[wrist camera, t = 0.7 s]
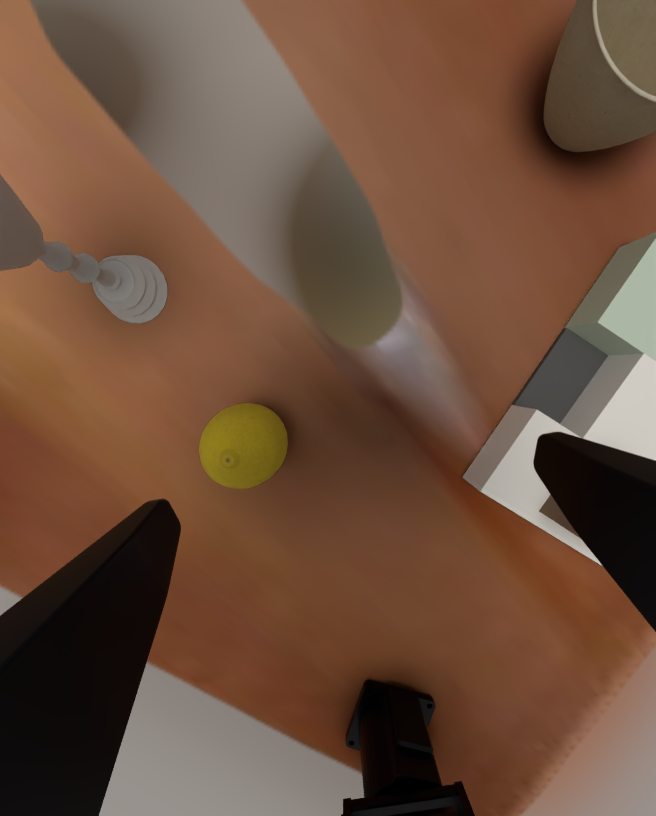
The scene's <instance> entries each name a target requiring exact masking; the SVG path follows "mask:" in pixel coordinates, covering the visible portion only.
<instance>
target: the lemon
mask: <svg viewBox="0 0 656 816" xmlns="http://www.w3.org/2000/svg"><path fill="white" fill-rule="evenodd" d="M287 447H288V438H287V432H286V429H285V426H284V424H283V422H282V421H281V419H280V418H279V417H278V415H276V414H275V413H274V412H273V411H272V410H270V409H268V408H266V407H264V406H262V405H259V404H254V403H239V404H236V405H232V406H229V407H227V408H225V409H224V410H222V411H220V412H219V413H217V414H216V415H215V416H214V417H213V418H212V419H211V420H210V421H209V422H208V424H207V426H206V427H205V429H204V431H203V433H202V435H201V439H200V443H199V457H200V460H201V464H202V466H203V468H204V469H205V471H206V473H207V474H208V475H209V476H210V477H211V478H212V479H213V480H214V481H216V482H217V483H219V484H220V485H223V486H226V487H229V488H236V489H244V488H251V487H254V486H256V485H259V484H261V483H263V482H265V481H266V480H267V479H269V478H270V477H271V476H273V475H274V474H275V473H276V471H277V470H278V469H279V468H280V466H281V465H282V463H283V461H284V458H285V456H286V453H287Z"/></svg>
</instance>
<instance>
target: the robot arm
mask: <svg viewBox="0 0 656 816" xmlns="http://www.w3.org/2000/svg"><path fill="white" fill-rule="evenodd" d="M533 465H534V469H535V471H536V473H537V475H538V476H539V478H540V479H541V481H542V482H543V484H544V485H545V487H546V488H547V490H548V491H549V493H550V494H551V496H552V498H553V499H554V501H555V502H556V504H557V505H558V507H559V508H560V510H561V511H562V513H563V514H564V516H565V517H566V519H567V520H568V522H569V523H570V525H571V526H572V527H573V529H574V530H575V532H576V533H577V534H578V535H579V537H580V538H581V539H582V541H583V542H584V543H585V544H586V546H587V547H588V548H589V549H590V551H591V552H592V553H593V554H594V556H595V557H596V558H597V559H598V561H599V562H600V563H601V564H602V566H603V567H604V568H605V569H606V571H607V572H608V573H609V574H610V576H611V577H612V578H613V579H614V580H615V582H616V583H617V584H618V585H619V587H620V588H621V589H622V590H623V592H624V593H625V594H626V595H627V597H628V598H629V599H630V600H631V602H632V603H633V604H634V605H635V607H636V608H637V609H638V610H639V612H640V613H641V614H642V615H643V617H644V618H645V619H646V620H647V622H648V623H649V624H650V625H651V627H652V628H653V629H654V630H655V632H656V460H652V459H649V458H646V457H642V456H639V455H636V454H632V453H629V452H626V451H623V450H619V449H616V448H613V447H609V446H606V445H603V444H599V443H596V442H593V441H590V440H586V439H583V438H580V437H576V436H573V435H570V434H566V433H563V432H551V433H545V434H542V435H540V436H539V437H538V440H537V444H536V450H535V455H534V460H533ZM180 532H181V525H180V522H179V520H178V518H177V516H176V514H175V512H174V510H173V509H172V507H171V505H170V503H169V502H168V501H167V500H166V499H158V500H152V501H148V502H146V503H145V504H143V505H142V506H141V507H139V508H138V509H137V510H136V511H134V512H133V513H132V514H130V515H129V516H128V517H127V518H125V519H124V520H123V521H121V522H120V523H119V524H118V525H116V526H115V527H114V528H112V529H111V530H110V531H109V532H107V533H106V534H105V535H103V536H102V537H101V538H100V539H98V540H97V541H96V542H94V543H93V544H92V545H91V546H89V547H88V548H87V549H85V550H84V551H83V552H82V553H80V554H79V555H78V556H76V557H75V558H74V559H73V560H71V561H70V562H69V563H67V564H66V565H65V566H64V567H62V568H61V569H60V570H58V571H57V572H56V573H55V574H53V575H52V576H51V577H49V578H48V579H47V580H46V581H44V582H43V583H42V584H40V585H39V586H38V587H37V588H35V589H34V590H33V591H31V592H30V593H29V594H28V595H26V596H25V597H24V598H22V599H21V600H20V601H19V602H17V603H16V604H15V605H14V606H12V607H11V608H10V609H8V610H7V611H6V612H5V613H3V614H2V615H1V616H0V816H99V813H100V810H101V806H102V803H103V800H104V797H105V793H106V790H107V787H108V784H109V781H110V778H111V774H112V771H113V768H114V765H115V762H116V758H117V755H118V752H119V748H120V746H121V742H122V739H123V736H124V733H125V729H126V726H127V723H128V720H129V717H130V713H131V710H132V707H133V704H134V701H135V697H136V694H137V691H138V688H139V685H140V681H141V678H142V675H143V672H144V668H145V665H146V662H147V659H148V656H149V653H150V649H151V646H152V643H153V640H154V637H155V633H156V630H157V627H158V624H159V621H160V617H161V614H162V611H163V608H164V604H165V601H166V597H167V594H168V589H169V585H170V581H171V576H172V571H173V566H174V561H175V557H176V552H177V547H178V542H179V537H180ZM434 709H435V703H434V700H433V698H432V697H430V696H426V695H422V694H419V693H415V692H411V691H407V690H403V689H399V688H396V687H392V686H388V685H384V684H380V683H376V682H373V681H367V682H365V683H364V686H363V688H362V691H361V694H360V697H359V700H358V703H357V706H356V709H355V712H354V714H353V717H352V720H351V723H350V726H349V729H348V732H347V735H346V745H347V746H348V747H349V748H353V749H357V750H360V754H361V765H362V776H363V788H364V798H360V799H353V800H351V798H347V799H343V814H342V815H341V816H475V815H474V813H473V810H472V807H471V805H470V802H469V800H468V797H467V794H466V792H465V789H464V787H463V784H462V781H459V782H454V784H452V785H445V786H442V783H441V779H440V776H439V772H438V769H437V765H436V761H435V758H434V754H433V747H432V743H431V740H430V736H429V733H428V729H427V727H428V725H429V722H430V719H431V717H432V714H433V711H434Z"/></svg>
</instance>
